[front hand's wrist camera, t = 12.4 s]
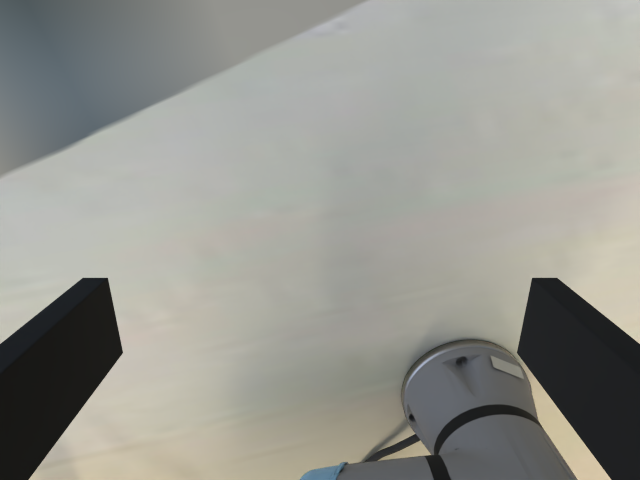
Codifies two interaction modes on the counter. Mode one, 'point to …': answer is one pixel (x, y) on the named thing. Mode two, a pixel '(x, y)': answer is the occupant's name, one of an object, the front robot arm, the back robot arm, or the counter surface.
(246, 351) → the counter surface
